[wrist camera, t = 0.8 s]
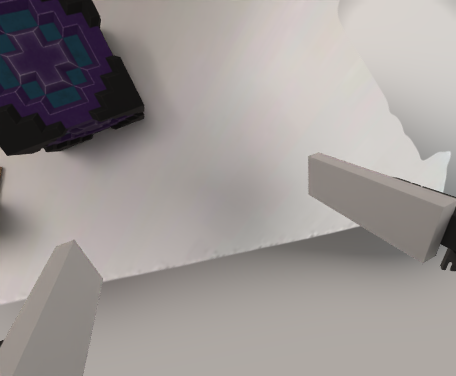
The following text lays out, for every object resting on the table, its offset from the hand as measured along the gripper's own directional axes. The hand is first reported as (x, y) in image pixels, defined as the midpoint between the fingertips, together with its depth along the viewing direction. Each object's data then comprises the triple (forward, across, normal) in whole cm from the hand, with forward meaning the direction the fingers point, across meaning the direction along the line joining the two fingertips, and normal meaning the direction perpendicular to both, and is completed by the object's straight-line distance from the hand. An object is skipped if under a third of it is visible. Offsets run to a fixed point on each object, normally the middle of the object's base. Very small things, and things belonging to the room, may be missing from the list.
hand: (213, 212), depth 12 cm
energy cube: (+26, -9, +8) cm, 29 cm away
